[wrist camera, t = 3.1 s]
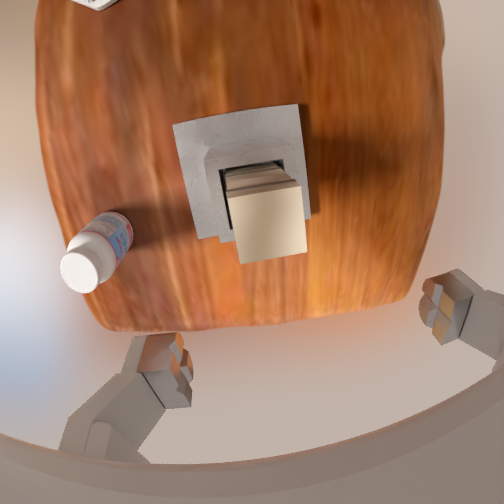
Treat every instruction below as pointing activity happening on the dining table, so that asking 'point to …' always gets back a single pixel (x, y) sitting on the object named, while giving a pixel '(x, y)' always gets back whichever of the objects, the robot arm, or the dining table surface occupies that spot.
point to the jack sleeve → (236, 159)
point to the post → (265, 212)
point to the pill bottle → (96, 251)
